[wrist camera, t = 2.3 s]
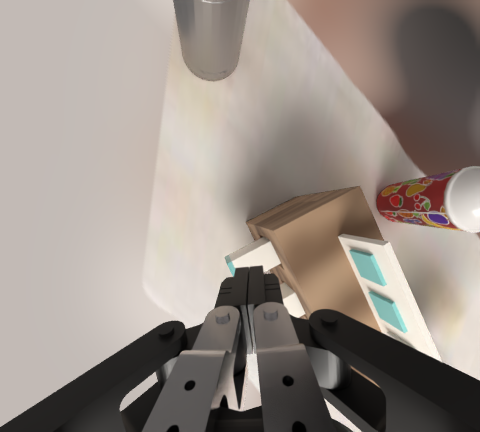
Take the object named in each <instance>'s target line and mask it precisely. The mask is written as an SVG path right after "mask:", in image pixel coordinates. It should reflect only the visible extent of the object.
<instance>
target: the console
mask: <svg viewBox="0 0 480 432" xmlns="http://www.w3.org/2000/svg"><path fill="white" fill-rule="evenodd" d="M246 223H247V225H248V227H249V229H250V231H251V234H252V236H253V238H254V240H255V241H257V240H258V239H260V238H262V237H265V238H267V239H269V240H270V242H271V244H272V246H273V248H274V250H275V252H276V254H277V256H278V258H279V260H280V262H281V264H279V265H277V266H275V267H273V268H272V269H270V272H271V274H272V273H274V274H275V275H276V276H277V277H278V278H279V283H280V284H282V283H284V282H285V283H286V284H287V285H288V286H289V287H290V288H291V289H292V290H293V291H294V292H295V293H296V295H297V297H298V299H299V301H300V303H301V305H302V307H303V309H304V312H305V314H304V315H302V316H301V317H299V318H301V319H308V320H309V316H310V315H311V313H313V312H314V311H316V310H320V309H332V310H336V311H339V312H341V313H343V314H345V315H347V316H349V317H351V318H353V319H355V320H357V321H359V322H361V323H363V324H365V325H367V326H369V327H371V328H374V329H376V330H378V331H380V332H381V330H380V327H379V325H378V323H377V321H376V319H375V316H374V314H373V312H372V310H371V308H370V306H369V303H368V301H367V299H366V297H365V295H364V293H363V290H362V288H361V286H360V284H359V282H358V279H357V277H356V275H355V273H354V271H353V269H352V266H351V264H350V262H349V260H348V258H347V255H346V253H345V251H344V249H343V247H342V245H341V242H340V240H339V238H338V236H340V235H342V234H347V235H352V236H358V237H364V238H370V239H376V240H381V241H384V239H383V237H382V235H381V233H380V230H379V228H378V226H377V224H376V221H375V219H374V217H373V215H372V212H371V210H370V208H369V206H368V203H367V201H366V199H365V196H364V194H363V192H362V190H361V187H360V186H357V187H351V188H345V189H339V190H333V191H327V192H321V193H315V194H309V195H303V196H297V197H295V198H293V199H291V200H289V201H287V202H285V203H283V204H281V205H279V206H277V207H275V208H273V209H271V210H269V211H267V212H265V213H263V214H261V215H259V216H257V217H255V218H253V219H251V220H249V221H247V222H246ZM351 368H352V369H353V370H355V371H356V372H358V373H359V374H361V375H362V376H363V377H365V378H366V379H368V380H369V381H371V382H372V383H374V384H375V385H377V384H376V383H375V382H374V381H373V380H371V379H370V378H368V377H367V376H365V375H364V374H362V373H361V372H359V371H358V370H356V369H355V368H353V367H352V366H351ZM377 386H378V385H377ZM378 387H379V386H378Z"/></svg>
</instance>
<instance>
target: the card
mask: <svg viewBox="0 0 480 432" xmlns="http://www.w3.org/2000/svg"><path fill="white" fill-rule="evenodd" d="M338 238H339V240H340V242H341V245H342V247H343V249H344V251H345V253H346V255H347V258H348V260H349V262H350V264H351V266H352V269H353V271H354V273H355V275H356V277H357V279H358V282H359V284H360V286H361V288H362V290H363V293H364V295H365V297H366V299H367V301H368V303H369V306H370V308H371V310H372V312H373V314H374V316H375V319H376V321H377V323H378V325H379V327H380V330H381V332H382V333H384V334H386V335H388V336H390V337H392V338H394V339H396V340H398V341H400V342H402V343H404V344H406V345H408V346H410V347H412V348H414V349H416V350H418V351H420V352H422V353H424V354H426V355H429V356H431V357H433V358H435V359H437V360H439V361H441V362H442V360H441V358H440V355H439V353H438V351H437V349H436V346H435V344H434V342H433V339H432V337H431V335H430V333H429V330H428V328H427V326H426V324H425V321H424V319H423V317H422V314H421V312H420V310H419V308H418V305H417V303H416V301H415V298H414V296H413V294H412V292H411V289H410V287H409V285H408V283H407V280H406V278H405V276H404V273H403V271H402V269H401V267H400V264H399V262H398V260H397V258H396V255H395V253H394V251H393V248H392V246H391V244H390V242H387V241H381V240H376V239H370V238H364V237H358V236H352V235H347V234H342V235H340V236H338Z"/></svg>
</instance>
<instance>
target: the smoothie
mask: <svg viewBox="0 0 480 432" xmlns="http://www.w3.org/2000/svg"><path fill="white" fill-rule="evenodd" d="M377 208H378V211H379V212H380V214H381V215H382V216H384V217H385V218H386V219H388V220H390V221H393V222H400V223H408V224H415V225H423V226H430V227H438V228H445V229H452V230H460V231H466V232H480V167H479V166H471V167H467V168H464V169H459V170H454V171H450V172H446V173H441V174H436V175H432V176H427V177H423V178H418V179H414V180H409V181H405V182H400V183H396V184H392V185H389V186H388V187H386V188H385V189H384V190H383V191H382V192H381V193H380V194H379V196H378V198H377Z"/></svg>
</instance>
